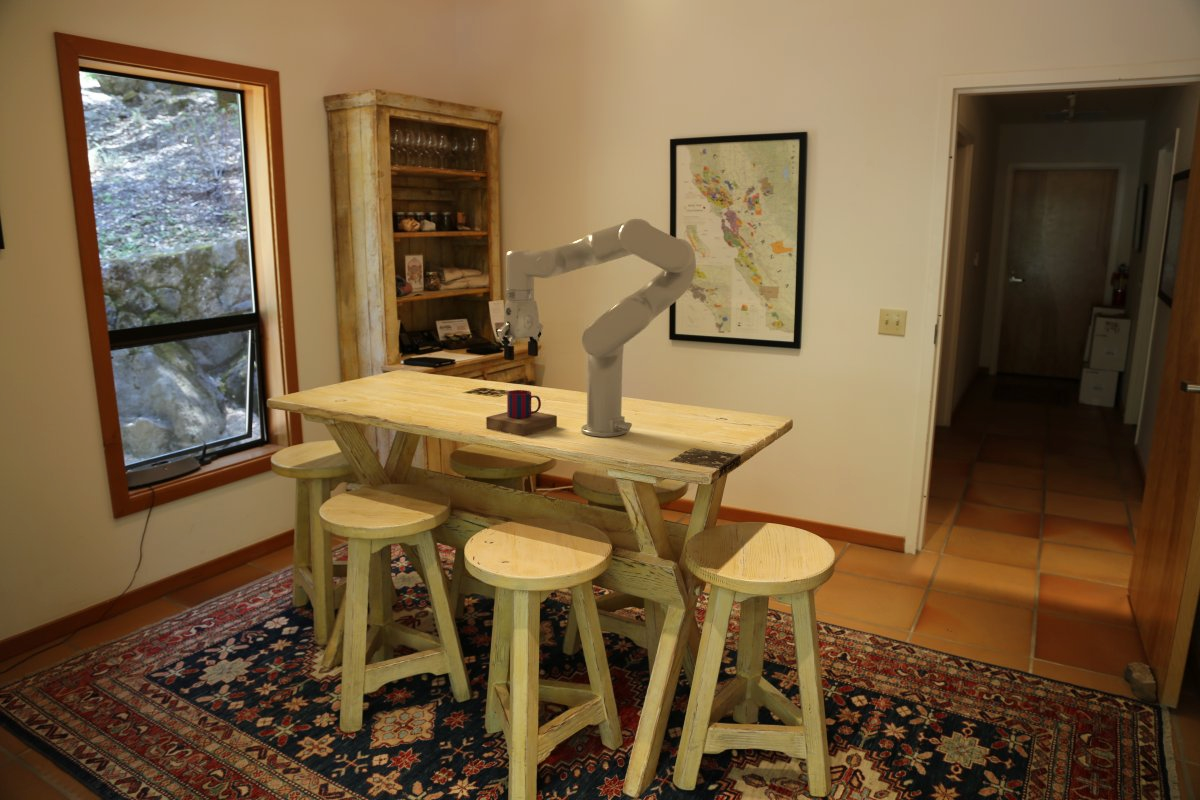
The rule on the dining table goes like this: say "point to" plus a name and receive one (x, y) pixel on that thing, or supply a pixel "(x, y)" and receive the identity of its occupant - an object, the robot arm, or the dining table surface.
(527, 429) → the walnut block
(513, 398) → the mug
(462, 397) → the dining table surface
